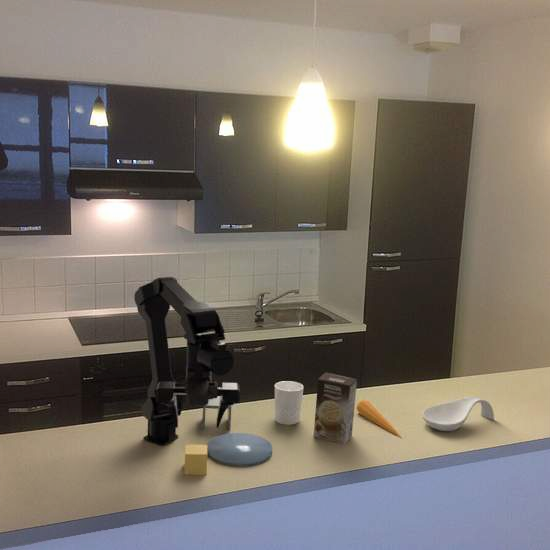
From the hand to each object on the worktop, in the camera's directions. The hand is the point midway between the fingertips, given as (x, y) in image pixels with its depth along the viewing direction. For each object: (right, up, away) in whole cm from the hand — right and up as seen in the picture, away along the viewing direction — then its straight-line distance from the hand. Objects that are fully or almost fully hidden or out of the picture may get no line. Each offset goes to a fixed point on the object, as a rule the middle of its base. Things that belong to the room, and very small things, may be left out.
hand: (197, 427), depth 155 cm
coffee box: (+33, -8, +24) cm, 42 cm away
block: (0, -10, +2) cm, 10 cm away
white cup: (+21, -6, +33) cm, 39 cm away
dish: (+9, -9, +12) cm, 18 cm away
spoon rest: (+70, -8, +37) cm, 79 cm away
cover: (+2, -5, +28) cm, 28 cm away
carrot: (+47, -7, +33) cm, 58 cm away
